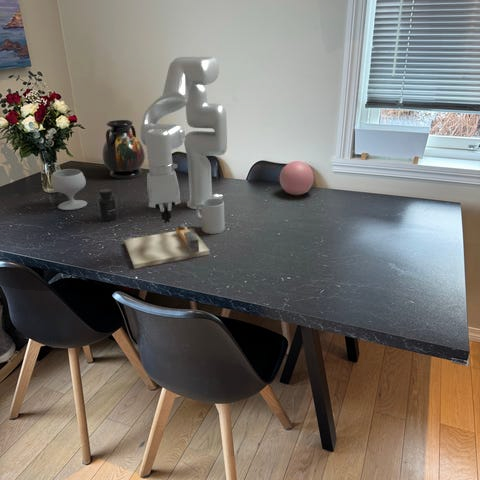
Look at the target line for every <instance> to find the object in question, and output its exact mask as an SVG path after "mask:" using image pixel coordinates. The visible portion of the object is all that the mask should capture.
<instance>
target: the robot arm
mask: <svg viewBox="0 0 480 480" xmlns="http://www.w3.org/2000/svg"><path fill="white" fill-rule="evenodd" d="M219 74H220V66H219V61H218V60H217V59H216V58H215V57H213V56H180V57H176V58H174V59H173V61H172V62H170V64H169V66H168V69H167V74H166V77H165V78H166V79H165V81H164V82H165V83H164V88H163V91H162V95H160V97H158V98H157V99H156V100H154V101H153V102H152V103H151V105H149V106H148V108H147V109H146V111H144V112H145V113H144V115H143V119H142V122H141V126H140V133H139V134H140V141H141V142H142V143H141V144H143V145H144V146H145V147H146V152H147V160H148V171H149V172H147V174H146V188H147V189H146V190H147V198H148V207H149V208H153V209H155V208H156V209H157V210H159V211H160V213H161V220H163V221H164V224H165V223H166V224H167V223H170V222H171V220H170V219H172V214H171V212H172V209H173V208H174V207H175V206H176V205H178V204H179V205H180V204H181V203H182V201H181V194H180V188H179V187H180V186H179V181H178V177H177V173H176V171H175V169H178V164H177V163H173V155H172V150H174V149H178V148H180V147H181V146H182V145H184V150H185V153H186V159H187V170H188V185H189V186H188V187H189V198H190V199H189V200H188V201H186V206H187V207H188V208H189V209H192V210H196V206H197V205H198V204H200V203H201V202H202V201H204V200H206V199H220V200H222V199H224V197H223V194H218V193H214V194H213V189H212V187H213V186H212V184H213V183H212V166H211V162H210V160H209V159H208V157H207V156H213V157H214V156H215V157H217V156H219V157H220V156H223V155H225V154H226V152H227V149H228V127H227V121H228V120H227V112H226V109H225V107H224V106H223V104H220V103H209V102H208V98H207V96H208V95H207V89H206V86H208V85H210V84H212V83H214V82H216V81H217V79H218V76H219ZM183 108H185V115H186V123H187V125H188V127H190V128H193V129H211V130H212V129H213V131H205V130H193V131H189V132H187V133H185V130H184V128H183V127H182V126H181V125H180V124H174V123H172V124H171V123H157V122H158V121H159V120H161V119H162V118H163V117H165V116H168V115H170V114H172V113H175V112H177V111H179V110H181V109H183ZM164 204H166V206H164ZM199 211H201V207H199Z"/></svg>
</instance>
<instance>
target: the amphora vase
mask: <svg viewBox="0 0 480 480" xmlns="http://www.w3.org/2000/svg"><path fill="white" fill-rule="evenodd" d="M106 126H107V127H109V129H107V130H106V133H105V142H104V144H103V147H102V161H103V163H104V165H105V167H106V168H107V169H108V170H110V173H109V175H110V176H111V177H112V178H114V179H119V180H127V179H128V180H129V179H133V178H137V177H139V176H141V174H142V173H143V172H142V169H141V168H142V166H143V165H144V163H145V160H146V156H145V151H144V147H143V145H142V143H141V142H140V140H139V139H137V135H136V128H135V127H134V125H133V121H132V120H127V119H118V120H112V121H111V120H110V121H107V122H106ZM130 129H131V130H130Z"/></svg>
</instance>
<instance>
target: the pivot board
mask: <svg viewBox="0 0 480 480" xmlns="http://www.w3.org/2000/svg"><path fill="white" fill-rule="evenodd" d="M177 227H178V229H180V230H182V229H185V227H186V225H185V223H184V224H183V223H180V224H179V223H178V225H177ZM187 231H188V232H185V233H184V236H185V238H186V239H187V244H188V246H187V245H186V243H185V242H184V241H183V239H182V238H181V237H180V236H179V235H177V234H176V230H174V231H169V232H162V233H157V234H151V235H146V236H144V235H143V236H140V237H133V238H128V239H123V240H124V245H125V248H126V250H127V254H128V255H129V259H130V260H131V263H132V266H133V268H134V269H141V268H146V267H151V266H156V265H163V264H167V263H170V262H171V263H172V262H176V261H181V260H189V259H192V258H193V259H194V258H196V257H203V256H208V255H211V254H210V253H211V252H210V248H208V246H207V245H206V244H205V243H204V241H203V240H202V238H201V237H200V236H199V235H198V233H197V232H196V231H195V230H194V228H187Z"/></svg>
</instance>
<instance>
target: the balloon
mask: <svg viewBox="0 0 480 480" xmlns="http://www.w3.org/2000/svg"><path fill="white" fill-rule="evenodd" d="M314 180H315V177H314V171H313V170H312V168H311V166H309V165H308V164H307V163H305V162H303V161H298V160H295V161H290V162H289V163H287V164H285V166H284V167H282V169H281V171H280V174H279V183H280V186H281V188H282V189H283V190H284V191H285V192H286V193H287V194H289V195H291V196H302V195H304V194H306V193H307V192H309V191H310V189H311V188H312V186H313V184H314Z"/></svg>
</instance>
